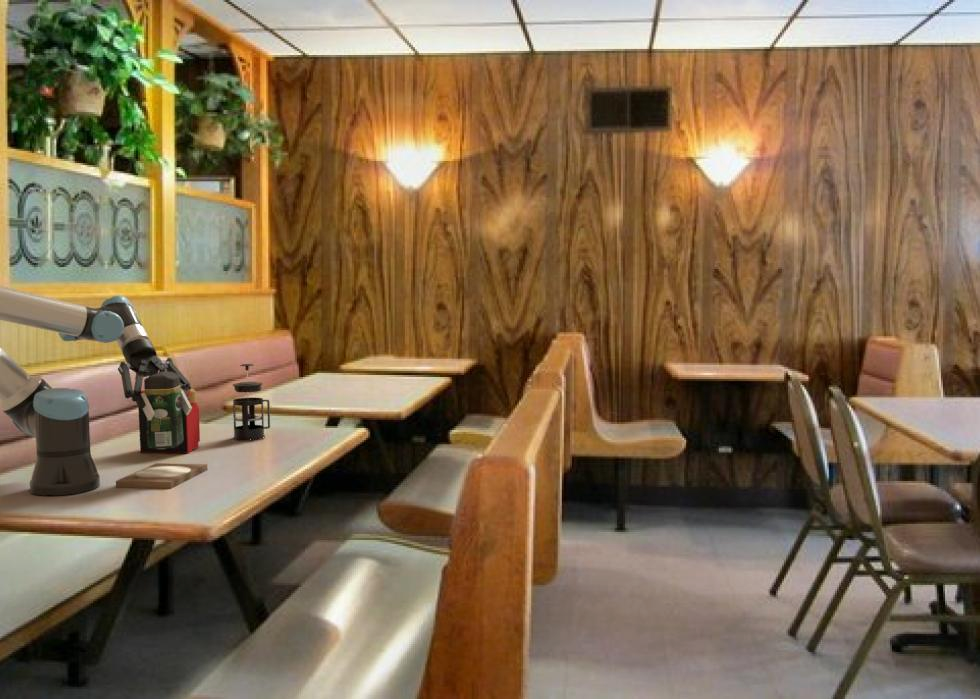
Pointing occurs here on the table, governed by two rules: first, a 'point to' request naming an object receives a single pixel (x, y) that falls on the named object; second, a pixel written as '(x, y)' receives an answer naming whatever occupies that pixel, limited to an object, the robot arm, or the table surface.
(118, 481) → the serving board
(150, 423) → the coffee jar
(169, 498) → the table surface
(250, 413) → the french press
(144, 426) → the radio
